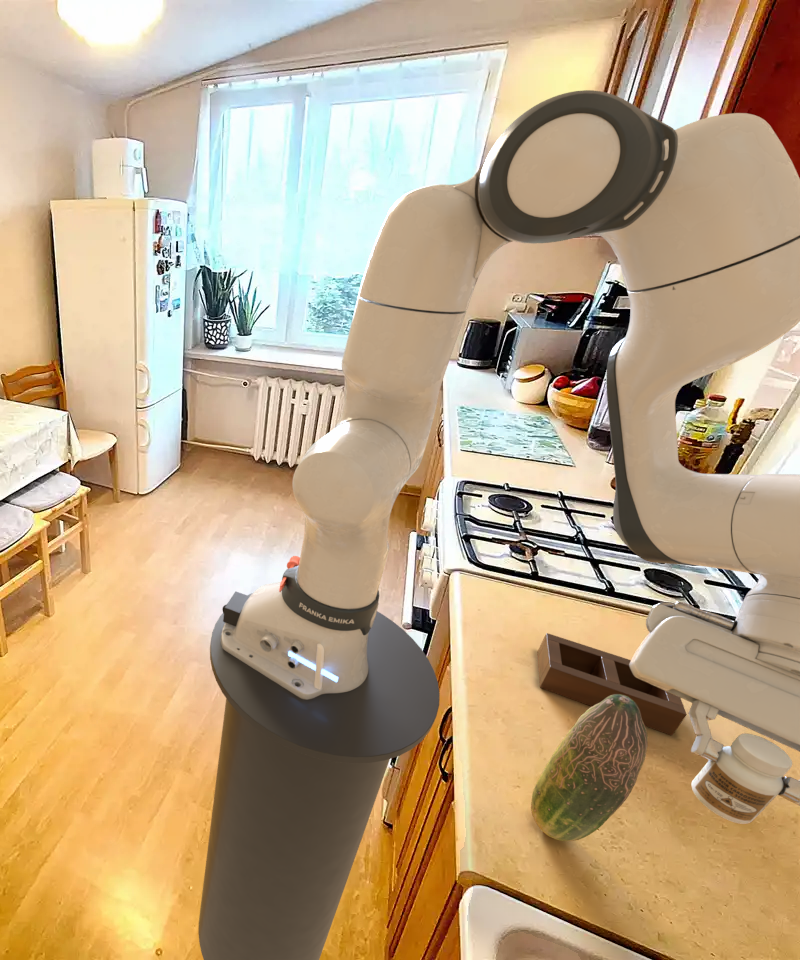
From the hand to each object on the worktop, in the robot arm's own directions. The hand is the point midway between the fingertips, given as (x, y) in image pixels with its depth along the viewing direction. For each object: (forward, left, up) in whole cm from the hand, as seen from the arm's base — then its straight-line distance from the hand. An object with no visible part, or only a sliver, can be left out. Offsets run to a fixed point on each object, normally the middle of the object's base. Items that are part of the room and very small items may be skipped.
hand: (745, 778), depth 48 cm
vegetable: (-11, -2, -14) cm, 18 cm away
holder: (-4, +24, -14) cm, 28 cm away
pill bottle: (0, +1, -5) cm, 5 cm away
